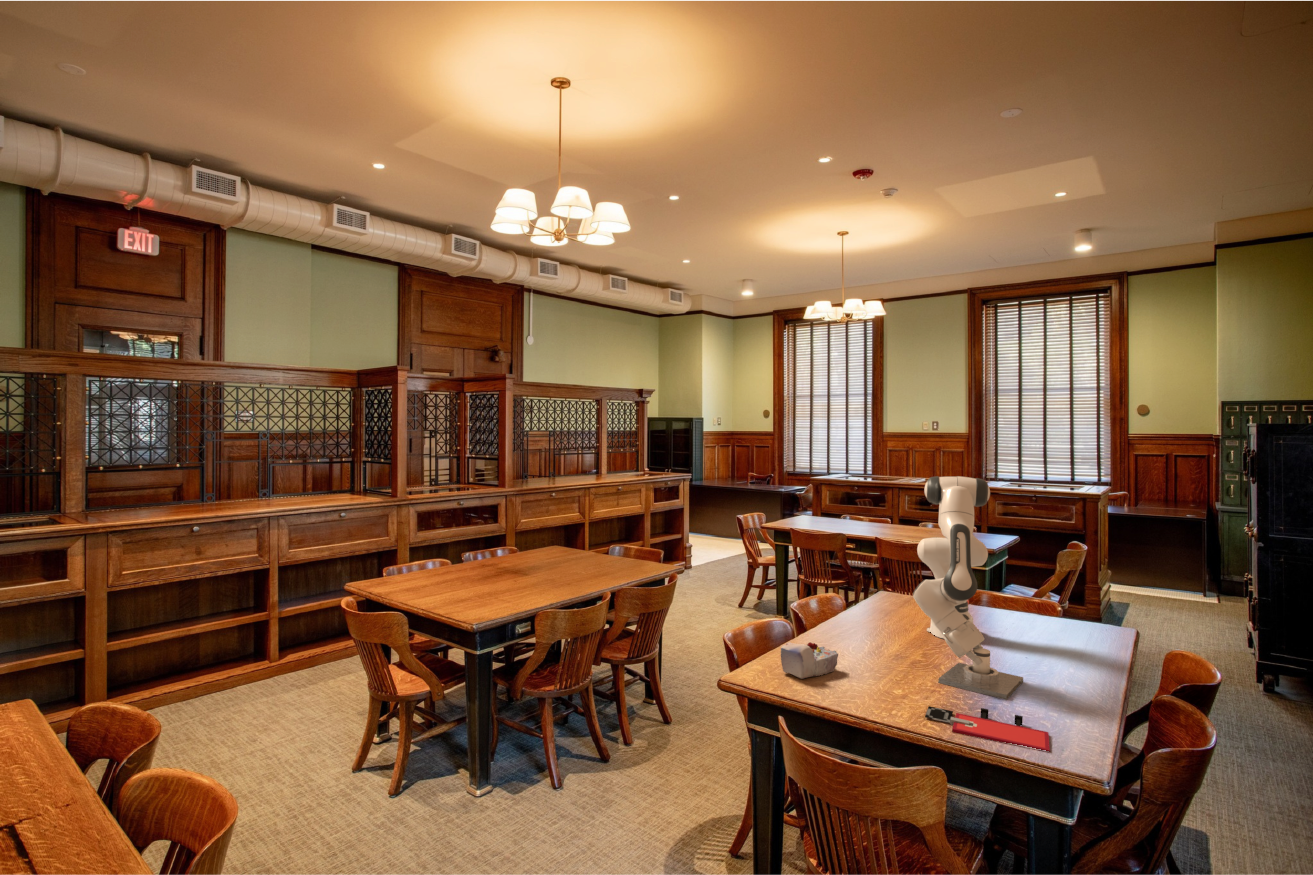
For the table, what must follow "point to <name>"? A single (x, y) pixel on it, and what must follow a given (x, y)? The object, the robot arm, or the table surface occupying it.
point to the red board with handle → (992, 728)
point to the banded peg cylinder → (985, 657)
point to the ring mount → (981, 681)
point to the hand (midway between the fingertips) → (983, 661)
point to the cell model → (807, 660)
